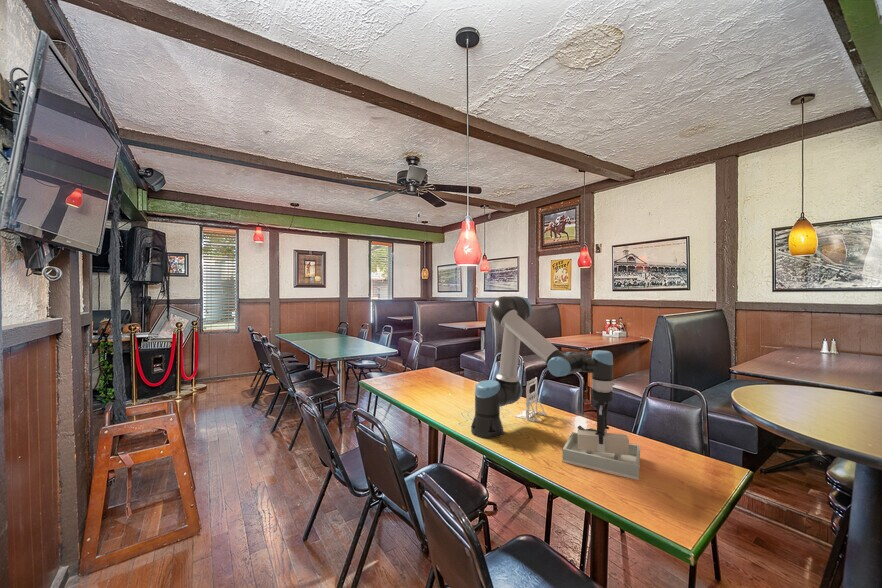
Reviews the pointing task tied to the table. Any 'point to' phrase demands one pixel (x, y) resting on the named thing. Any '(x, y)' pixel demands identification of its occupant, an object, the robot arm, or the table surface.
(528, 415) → the film strip holder
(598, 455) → the divided grey tray
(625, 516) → the table surface
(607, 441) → the beige rectangular block
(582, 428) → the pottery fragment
